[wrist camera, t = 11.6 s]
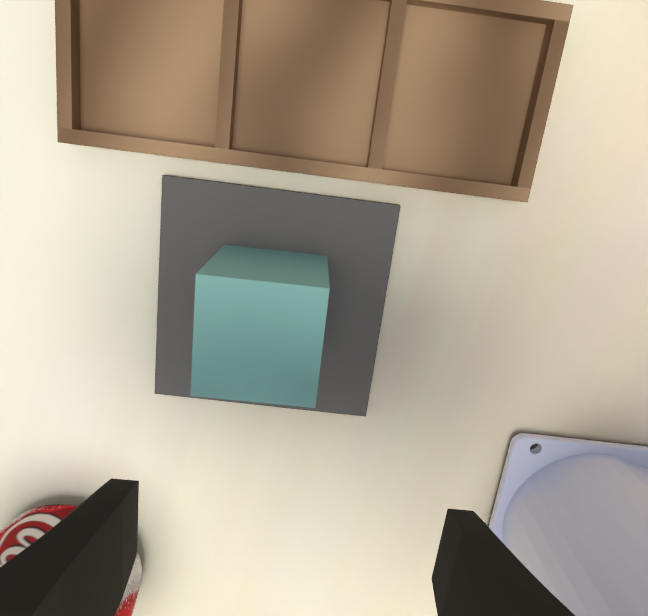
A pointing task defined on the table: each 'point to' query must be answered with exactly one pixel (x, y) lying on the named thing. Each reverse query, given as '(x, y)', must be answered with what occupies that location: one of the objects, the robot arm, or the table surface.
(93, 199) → the table surface
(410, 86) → the organizer
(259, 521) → the table surface
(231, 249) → the teal block
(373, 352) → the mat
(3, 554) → the soda can
